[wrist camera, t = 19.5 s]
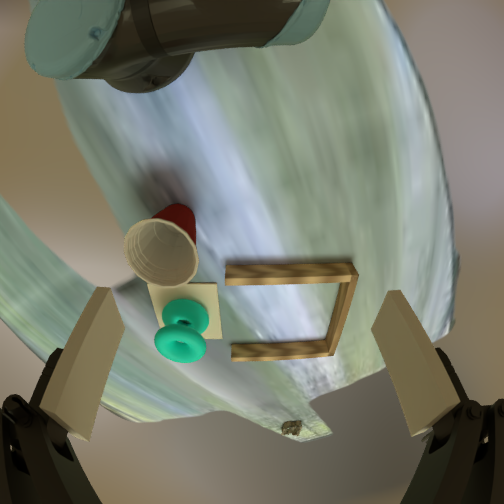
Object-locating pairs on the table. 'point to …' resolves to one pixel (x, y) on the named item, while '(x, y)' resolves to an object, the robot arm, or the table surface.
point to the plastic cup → (164, 247)
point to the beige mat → (195, 292)
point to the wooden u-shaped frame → (296, 276)
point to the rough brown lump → (292, 428)
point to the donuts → (182, 331)
